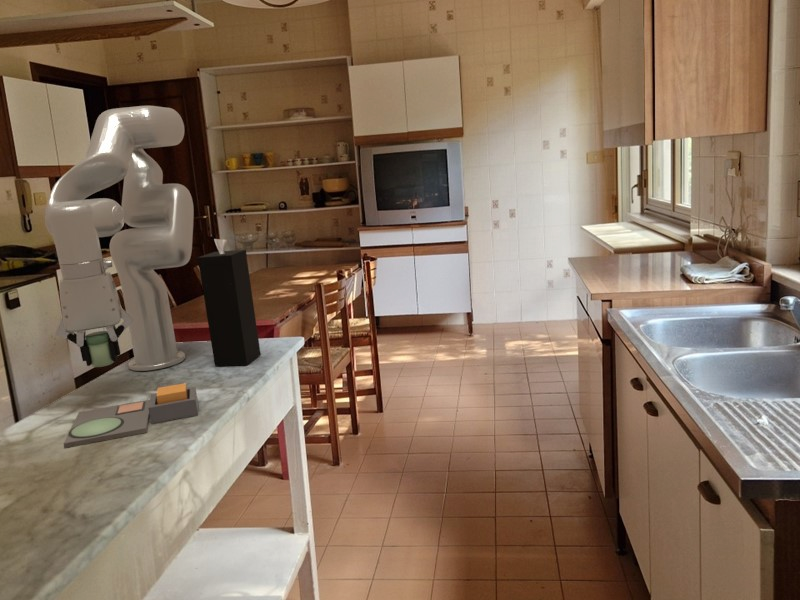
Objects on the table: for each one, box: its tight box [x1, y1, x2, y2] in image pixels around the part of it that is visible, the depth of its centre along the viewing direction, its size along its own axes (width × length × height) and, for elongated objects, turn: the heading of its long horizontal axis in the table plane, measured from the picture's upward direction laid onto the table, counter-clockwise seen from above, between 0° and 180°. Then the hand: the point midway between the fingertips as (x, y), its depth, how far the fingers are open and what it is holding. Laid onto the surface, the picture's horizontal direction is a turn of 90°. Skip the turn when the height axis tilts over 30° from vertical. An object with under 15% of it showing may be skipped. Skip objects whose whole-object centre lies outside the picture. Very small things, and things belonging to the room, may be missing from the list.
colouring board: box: [63, 399, 150, 449], centre depth 123 cm, size 16×13×1 cm
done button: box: [156, 382, 188, 404], centre depth 125 cm, size 5×5×2 cm
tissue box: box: [197, 238, 261, 367], centre depth 153 cm, size 8×8×28 cm
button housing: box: [148, 386, 199, 425], centre depth 125 cm, size 8×8×3 cm
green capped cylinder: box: [85, 330, 115, 368], centre depth 133 cm, size 4×4×6 cm
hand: (102, 360), depth 134 cm, fingers closed on green capped cylinder, 4 cm apart
